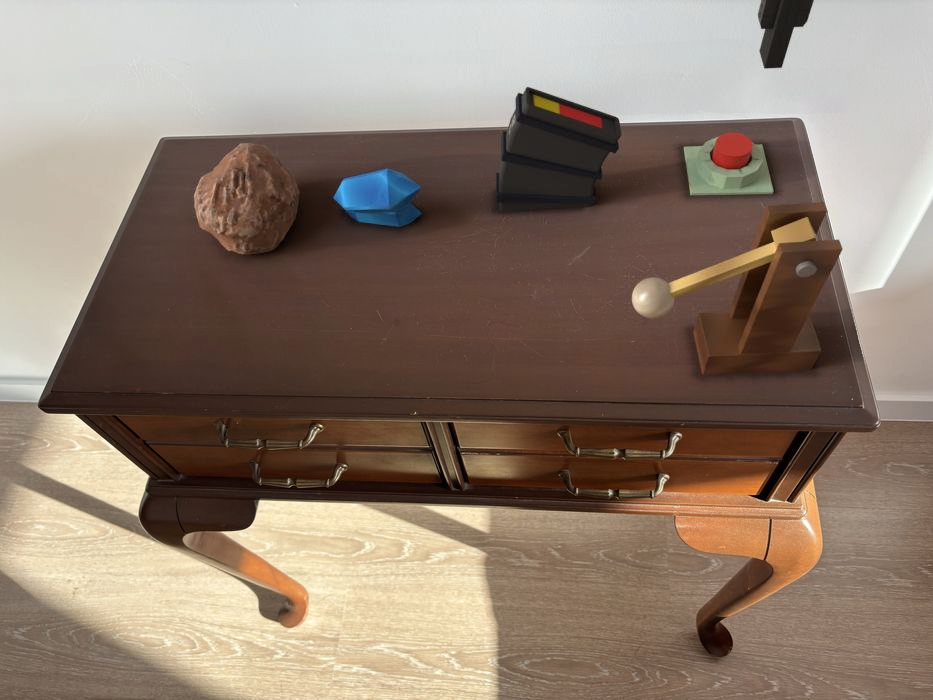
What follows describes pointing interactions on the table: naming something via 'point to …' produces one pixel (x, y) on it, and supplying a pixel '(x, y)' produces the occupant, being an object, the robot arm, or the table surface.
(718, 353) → the switch bracket
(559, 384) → the table surface
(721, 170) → the button box
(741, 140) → the red button
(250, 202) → the decorative rock
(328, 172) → the table surface
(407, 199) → the crystal
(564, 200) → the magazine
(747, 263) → the switch lever
